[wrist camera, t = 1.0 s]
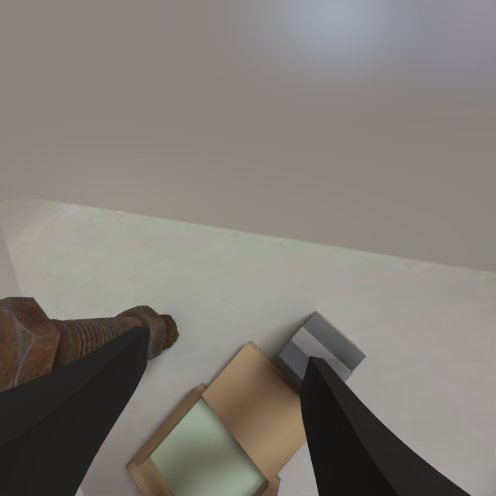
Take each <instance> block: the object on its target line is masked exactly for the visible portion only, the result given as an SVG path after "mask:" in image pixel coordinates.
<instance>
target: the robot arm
mask: <svg viewBox="0 0 496 496" xmlns="http://www.w3.org/2000/svg"><path fill="white" fill-rule="evenodd" d="M149 333H150V328H148V327H142V326H135V327H133V328H131V329H129V330H128V331H126V332H124V333H123V334H121V335H119V336H118V337H116V338H114V339H113V340H111V341H109V342H107V343H106V344H104V345H102V346H101V347H99V348H97V349H95V350H94V351H92V352H90V353H88V354H86V355H84V356H82V357H80V358H78V359H76V360H75V361H73V362H71V363H69V364H67V365H65V366H63V367H61V368H58V369H56V370H54V371H52V372H50V373H47V374H45V375H43V376H40V377H38V378H36V379H33V380H31V381H28V382H26V383H23V384H20V385H18V386H15V387H13V388H10V389H7V390H5V391H2V392H0V496H75V494H76V492H77V490H78V488H79V486H80V484H81V482H82V480H83V478H84V476H85V474H86V473H87V471H88V469H89V467H90V465H91V463H92V461H93V459H94V457H95V455H96V454H97V452H98V450H99V448H100V447H101V445H102V443H103V442H104V440H105V438H106V437H107V435H108V434H109V432H110V430H111V429H112V427H113V426H114V424H115V422H116V421H117V419H118V418H119V416H120V414H121V413H122V411H123V409H124V408H125V406H126V405H127V403H128V401H129V400H130V398H131V396H132V395H133V393H134V391H135V390H136V388H137V386H138V384H139V382H140V380H141V377H142V375H143V373H144V371H145V369H146V366H147V355H148V344H149ZM299 395H300V406H301V414H302V420H303V425H304V430H305V434H306V439H307V443H308V448H309V452H310V456H311V461H312V465H313V469H314V474H315V478H316V483H317V488H318V494H319V496H471V495H469V494H468V493H467V492H465V491H464V490H462V489H461V488H460V487H458V486H457V485H456V484H454V483H453V482H451V481H450V480H449V479H448V478H446V477H445V476H444V475H442V474H441V473H440V472H438V471H437V470H436V469H435V468H433V467H432V466H431V465H430V464H428V463H427V462H426V461H425V460H423V459H422V458H421V457H420V456H419V455H417V454H416V453H415V452H414V451H412V450H411V449H410V448H409V447H408V446H407V445H406V444H404V443H403V442H402V441H401V440H400V439H399V438H398V437H397V436H396V435H394V434H393V433H392V432H391V431H390V430H389V429H388V428H387V427H386V426H385V425H384V424H383V423H382V422H381V421H380V420H379V419H378V418H377V417H376V416H375V415H374V414H373V413H372V412H371V411H370V410H369V409H368V408H367V407H366V406H365V405H364V404H363V403H362V402H361V401H360V400H359V399H358V397H357V396H356V395H355V394H354V393H353V392H352V391H351V390H350V388H349V387H348V386H347V385H346V384H345V383H344V382H343V380H342V379H341V378H340V377H339V376H338V374H337V373H336V372H335V371H334V370H333V369H332V367H331V366H330V365H329V364H328V363H327V362H326V361H325V360H324V358H319V357H313V356H310V357H309V361H308V364H307V368H306V371H305V375H304V378H303V382H302V385H301V389H300V392H299Z"/></svg>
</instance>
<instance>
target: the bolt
mask: <svg viewBox="0 0 496 496" xmlns="http://www.w3.org/2000/svg"><path fill="white" fill-rule="evenodd" d="M135 326H142V327H148V328H150V333H149V344H148V355H147V361H148V360H150V359H152V358H155V357H157V356H159V355H160V354H161V351H162V349H165V348H168V347H170V346H172V345H173V342H176V340H177V338H178V336H179V333H178V331H177V326H176V324H175V321H174V320H173V319H172V317H171V316H170V315H165V314H164V315H159V314H158V313H157V312H155V311H154V310H153V309H152V308H150V307H149V306H137V307H134V308H131V309H129V310H126V311H124V312H122V313H120V314H119V315H117V316H116V317H114V318H113V317H111V318H95V319H77V320H64V321H62V320H57V319H49V318H48V317H47V315H46V314H45V312H44V311H43V310H42V308H41V307H40V306H39V304H38V303H37V302H36V300H35V299H34V298H33V297H7V298H4V299H0V392H2V391H5V390H7V389H10V388H13V387H15V386H18V385H20V384H23V383H26V382H28V381H31V380H33V379H36V378H38V377H40V376H43V375H45V374H47V373H50V372H52V371H54V370H56V369H58V368H61V367H63V366H65V365H67V364H69V363H71V362H73V361H75V360H76V359H78V358H80V357H82V356H84V355H86V354H88V353H90V352H92V351H94V350H95V349H97V348H99V347H101V346H102V345H104V344H106V343H107V342H109V341H111V340H113V339H114V338H116V337H118V336H119V335H121V334H123V333H124V332H126V331H128V330H129V329H131V328H133V327H135Z"/></svg>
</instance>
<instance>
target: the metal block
mask: <svg viewBox="0 0 496 496" xmlns="http://www.w3.org/2000/svg"><path fill="white" fill-rule="evenodd" d="M278 356H279V357H280V358H281V359H282V360H283V361H284V362H285V363H286V364H287V365H288V366H289V367H290V368H291V369H292V370H293V371H294V372H295V373H296V374H297V375H298V376H299V377H300V378H301V379H302V380H303V378H304V375H305V371H306V368H307V364H308V361H309V357H310V356H313V357H319V358H324V360H325V361H326V362H327V363H328V364H329V365H330V366H331V367H332V369H333V370H334V371H335V372H336V373H337V374H338V376H339V377H340V378H341V379H342V380H343V382H345V381H346V380H347V379H348V378H349V377H350V376H351V375H352V371H353V370H354V369H355V368H356V367H357V366H358V365H359V363H360V362H361V361H362V360H363V359H364V358H365V357H366V356H365V355H364V354H363V352H362V351H361V350H360V349H359V348H358V347H357V346H356V345H355V344H354V343H353V342H352V341H351V340H349V339H348V338H347V337H346V336H345V335H344V334H343V333H341V332H340V331H339V330H338V329H337V328H336V327H335V326H334V325H332V324H331V323H330V322H329V321H328V320H327V319H326V318H324V317H323V316H322V315H321V314H320V313H319V312H318V311H316V312H315V313H314V314H313V315H312V316H311V318H310V319H309V320H308V321H307V322H306V323H305V324H304V326H302V327H301V328H300V329H299V331H298V332H297V333H296V334H295V335H294V336H293V337H292V339H291V340H290V342H289V343H288V344H287V345H286V346H285V347H284V349H283V350H282V351H281V352H280V353H279V355H278Z"/></svg>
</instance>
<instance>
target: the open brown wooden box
mask: <svg viewBox="0 0 496 496" xmlns="http://www.w3.org/2000/svg"><path fill="white" fill-rule="evenodd" d="M299 392H300V391H299V390H298V389H297V388H296V387H295V386H294V385H293V384H292V383H291V382H290V381H289V379H288V378H287V377H286V376H285V375H284V374H283V373H282V372H281V371H280V370H279V369H278V368H277V367H276V366H275V365H274V364H273V363H272V362H271V361H270V360H269V358H268V357H267V356H266V355H265V354H264V353H263V352H262V351H261V350H260V349H259V348H258V347H257V346H256V345H255V344H254V343H253V342H252V341H250V342H248V343H247V344H246V345H245V346H244V347H243V348H242V349H241V350H240V352H239V353H238V354H237V355H236V356H235V357H234V358H233V360H232V361H231V362H230V363H229V364H228V365H227V366H226V368H225V369H224V370H223V371H222V372H221V373H220V374H219V376H218V377H217V378H216V379H215V380H214V381H213V382H212V384H211V385H210V386H209V387H208V388H207V387H206V386H205V385H204V383H202V384H200V385H199V386H197V387H196V388H194V389H193V390H192V391H191V392H190V393H189V394H188V395H187V397H186V398H185V399H184V400H183V401H182V402H181V404H180V405H179V406H178V407H177V408H176V409H175V410H174V412H173V413H172V414H171V415H170V416H169V417H168V418H167V420H166V421H165V422H164V423H163V424H162V425H161V426H160V428H159V429H158V430H157V431H156V432H155V433H154V434H153V436H152V437H151V438H150V439H149V440H148V441H147V442H146V444H145V445H144V446H143V447H142V448H141V449H140V450H139V452H138V453H137V454H136V455H135V456H134V457H133V458H132V460H131V461H130V462H129V463H128V464H127V465H126V467H127V469H128V471H129V472H130V474H131V476H132V478H133V479H134V481H135V483H136V484H137V486H138V488H139V490H140V491H141V493H142V495H143V496H277V493H278V489H279V484H280V480H281V479H280V478H279V477H278V476H277V474H278V473H279V471H280V470H281V469H282V468H283V467H284V466H285V465H286V464H287V462H288V461H289V460H290V459H291V458H292V457H293V456H294V454H295V453H296V452H297V451H298V450H299V449H300V448H301V447H302V445H303V444H304V443H305V442H306V441H307V439H306V434H305V430H304V425H303V420H302V414H301V406H300V395H299Z"/></svg>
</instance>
